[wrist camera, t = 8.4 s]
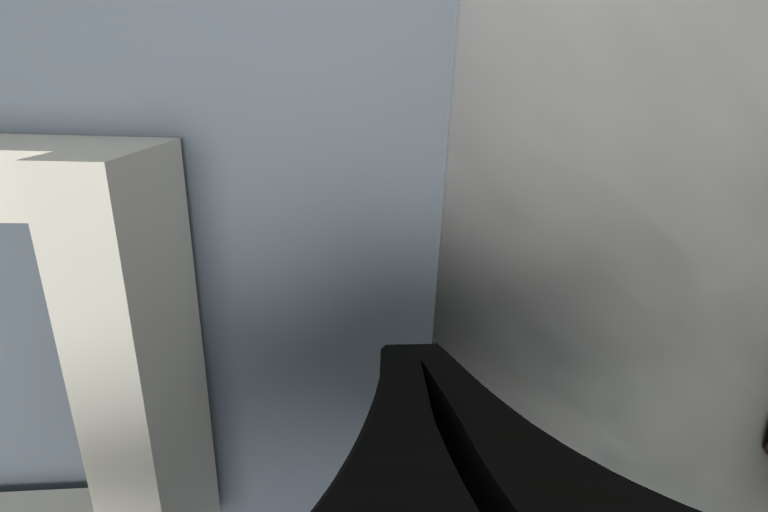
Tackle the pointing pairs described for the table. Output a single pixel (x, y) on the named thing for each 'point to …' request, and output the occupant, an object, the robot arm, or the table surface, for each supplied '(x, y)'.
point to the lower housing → (118, 317)
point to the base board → (246, 212)
